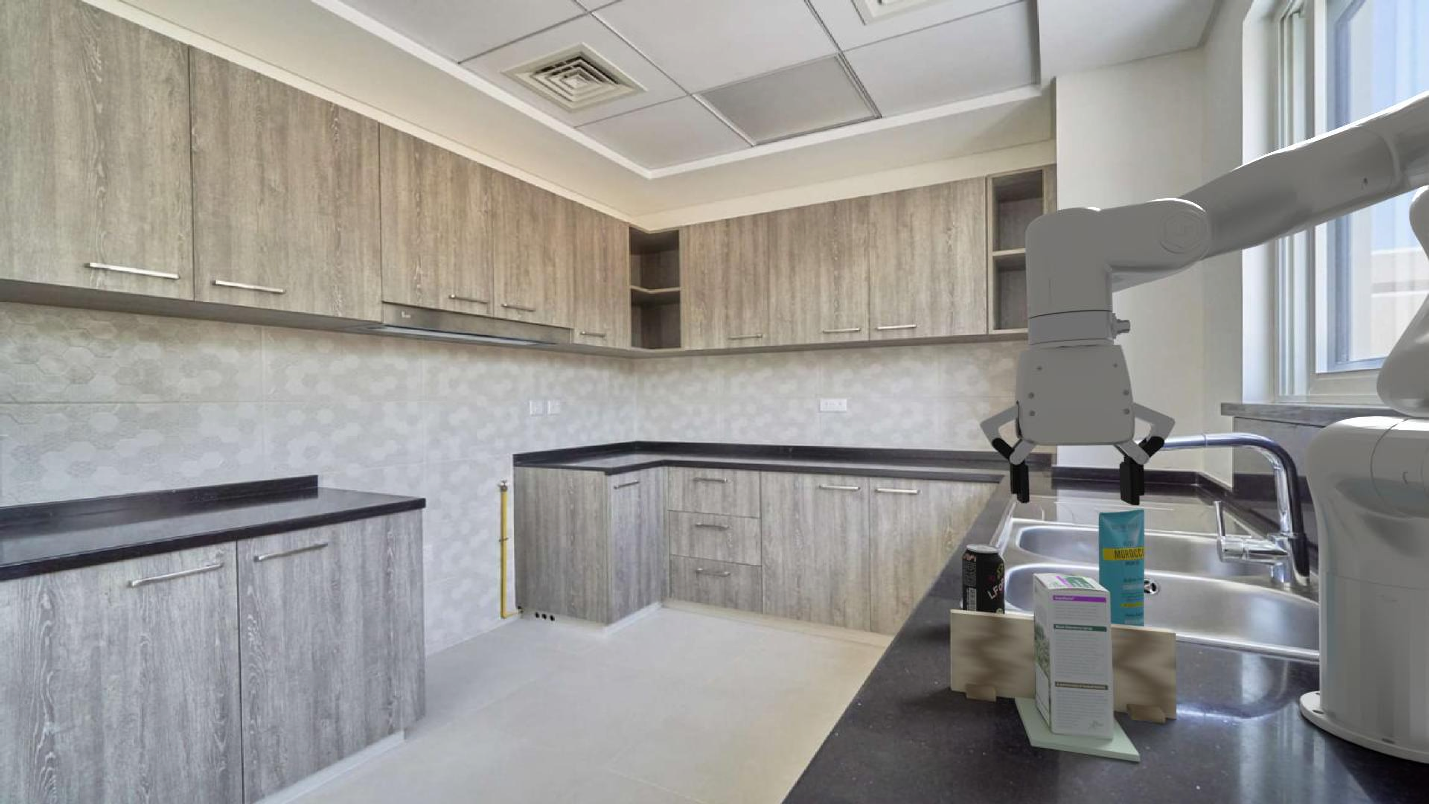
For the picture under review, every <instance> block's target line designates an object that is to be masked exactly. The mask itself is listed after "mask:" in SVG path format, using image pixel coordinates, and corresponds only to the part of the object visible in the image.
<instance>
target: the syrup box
mask: <svg viewBox="0 0 1429 804" xmlns="http://www.w3.org/2000/svg"><path fill="white" fill-rule="evenodd" d="M1032 574H1033V575H1032V579H1033V580H1032V583H1033V584H1032V585H1033V586H1032V587H1033V592H1032V594H1033V598H1032V600H1033V601H1032V602H1033V603H1032V604H1033V617H1034V650H1035V697H1036V707H1037V709H1038V710H1039V712H1040V714H1041V715H1042V717H1043V719H1044V720H1045V722H1046V724H1047V725H1048V727H1049V729H1050V730H1051V732H1053V733H1056V734H1063V735H1069V736H1078V737H1087V738H1098V739H1110V740H1113V738H1114V728H1113V716H1114V711H1113V675H1112V643H1111V612H1110V592H1109V591H1108V590H1106V589H1105V588H1103V587H1102V586H1101V585H1099V582H1097V581H1095V580H1094V579H1093V578H1091V577H1090V576H1088V575H1082V574H1076V573H1075V574H1074V573H1064V572H1060V573H1059V572H1057V573H1056V572H1055V573H1053V572H1050V573H1032Z"/></svg>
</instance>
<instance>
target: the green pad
mask: <svg viewBox="0 0 1429 804" xmlns="http://www.w3.org/2000/svg"><path fill="white" fill-rule="evenodd" d="M1014 702H1015V706H1016V708H1017V711H1018V714H1019V716H1020V719H1021V721H1022V724H1023V727H1024V729H1025V733H1026V735H1027V737H1028V740H1029V742H1030V745H1031V747H1037V748H1044V749H1051V750H1057V751H1064V752H1071V753H1077V754H1085V755H1092V756H1099V757H1103V758H1104V757H1105V758H1111V759H1117V760H1124V761H1125V760H1126V761H1131V762H1137V763H1141V756H1140V754H1139V752H1138V750H1137V749H1136V748H1135V746H1134V745H1133V743H1132V741H1131V740H1130V738H1129V737H1128V735H1127V734H1126V733H1125V731H1124V730H1123V728H1122V727H1121V725H1120V724H1119V722H1118V721H1117V720H1116V718H1115V717H1114V715H1113V728H1114V738H1113V740H1110V739H1098V738H1087V737H1078V736H1069V735H1063V734H1056V733H1053V732H1051V730H1050V729H1049V727H1048V725H1047V724H1046V722H1045V720H1044V719H1043V717H1042V715H1041V714H1040V712H1039V710H1038V709H1037V707H1036V699H1030V698H1022V697H1015V698H1014Z"/></svg>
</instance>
